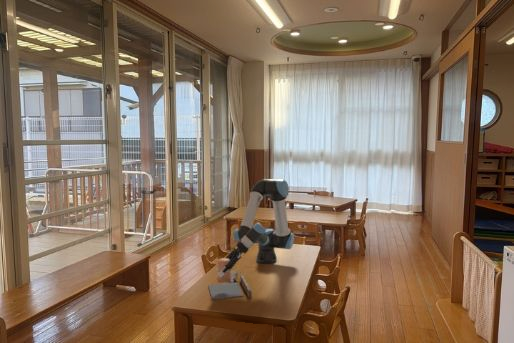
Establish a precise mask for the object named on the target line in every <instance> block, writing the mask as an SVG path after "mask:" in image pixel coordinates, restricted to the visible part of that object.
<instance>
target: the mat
mask: <svg viewBox="0 0 514 343" xmlns="http://www.w3.org/2000/svg"><path fill="white" fill-rule="evenodd" d="M208 291H209V294H210V297H211V300H212V301H215V300H222V299H223V300H224V299H233V298H242V297H244V294H243V292H242V290H241V288H240V286H239V283H238V282H237V281H236V282H234V283H231V282H227V283H226V282H225V283H219V284H218V283H217V284H209V285H208Z"/></svg>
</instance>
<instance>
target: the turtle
mask: <svg viewBox="0 0 514 343" xmlns="http://www.w3.org/2000/svg"><path fill="white" fill-rule="evenodd" d="M232 269H233V267H232V268H231V269H230V281H228V282H227V283H235V282H234V281H236V280H237V279H239V278H238V277H239V275H238V274H241V273H242V271H241V270H238V271H234V270H232Z"/></svg>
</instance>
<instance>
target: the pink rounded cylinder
mask: <svg viewBox="0 0 514 343" xmlns="http://www.w3.org/2000/svg"><path fill="white" fill-rule="evenodd" d="M229 261H230V259H228V258H226V257H223V258H219V259H218V260H217V263H218V264H217V265H218V266H217V268H218V272H217V274H218V273H219V272H220V271H221V270H222V269H223V268H224V267H225V265H227V264H228V263H229ZM230 270H231V269H228V271H227V272H226V273H225V274H224V275H223V276H222V277H220V276H218V275H217V278H218V282H221V283H226V282H227V283H229V282H228V281H230Z"/></svg>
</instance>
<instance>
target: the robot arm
mask: <svg viewBox="0 0 514 343" xmlns="http://www.w3.org/2000/svg"><path fill="white" fill-rule="evenodd" d="M289 188H290V187H289V184H288V182H287V181H286V180H285V179H280V178H279V179H278V178H276V179H275V178H262V179H261V180H258V181H257V182H255V184H254V185H253V186H252V188H251V190H250V192H249V199H248V203H247V205H246V208H245V211H244V214H243V218H242V219H241V223H240V226H239V228H236V229H234V231H233V236H232V237H233V240H234V241H235V242H237V244H236V248H233V249H232V250H231V251H230V252H229V253H228V255H226V256H225V258H228V259H230V261H229V263H228V264H227V265H225V267H224V268H223V269H222V270H221V271H220V272H219V273H218V267H217V268H216V269H215V271H216V272H217V274H216V275H217V277H218V276H220V277H222V276H223V275H224V274H225V273H226V272H227V271H228V269H230V270H232V269H233V267H234V266H235V264H237V263H238V261H239V260H240V259H241V258H242V254H247V253H248V251H249V249H251V248H252V247H254V245H255V244H258V252H257V254H256V257H255V259H256V262H257V263H259V264H267V265H268V264H273V263H276V262H277V254H276V251H275V249H281V250H283V249H284V250H291V249H292V248H293V246H294V241H295V233H293V232H291V229H290V228H289V222H288V217H287V216H288V215H287V214H288V213H287V209H286V208H287V207H286V199H287V198H288V196H289V192H290V189H289ZM265 196H266V197H269V200H270V201H272V207H273V208H272V209H273V215H274V224H275V229H274V228H265V227H264V226H263V225H262V224H261V223H260V222H256V223H255V224H254V222H255V219H256V216H257V213H258V209H259V207H260V203H261V201H262V200H263V199H264V197H265ZM231 268H232V269H231Z"/></svg>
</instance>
